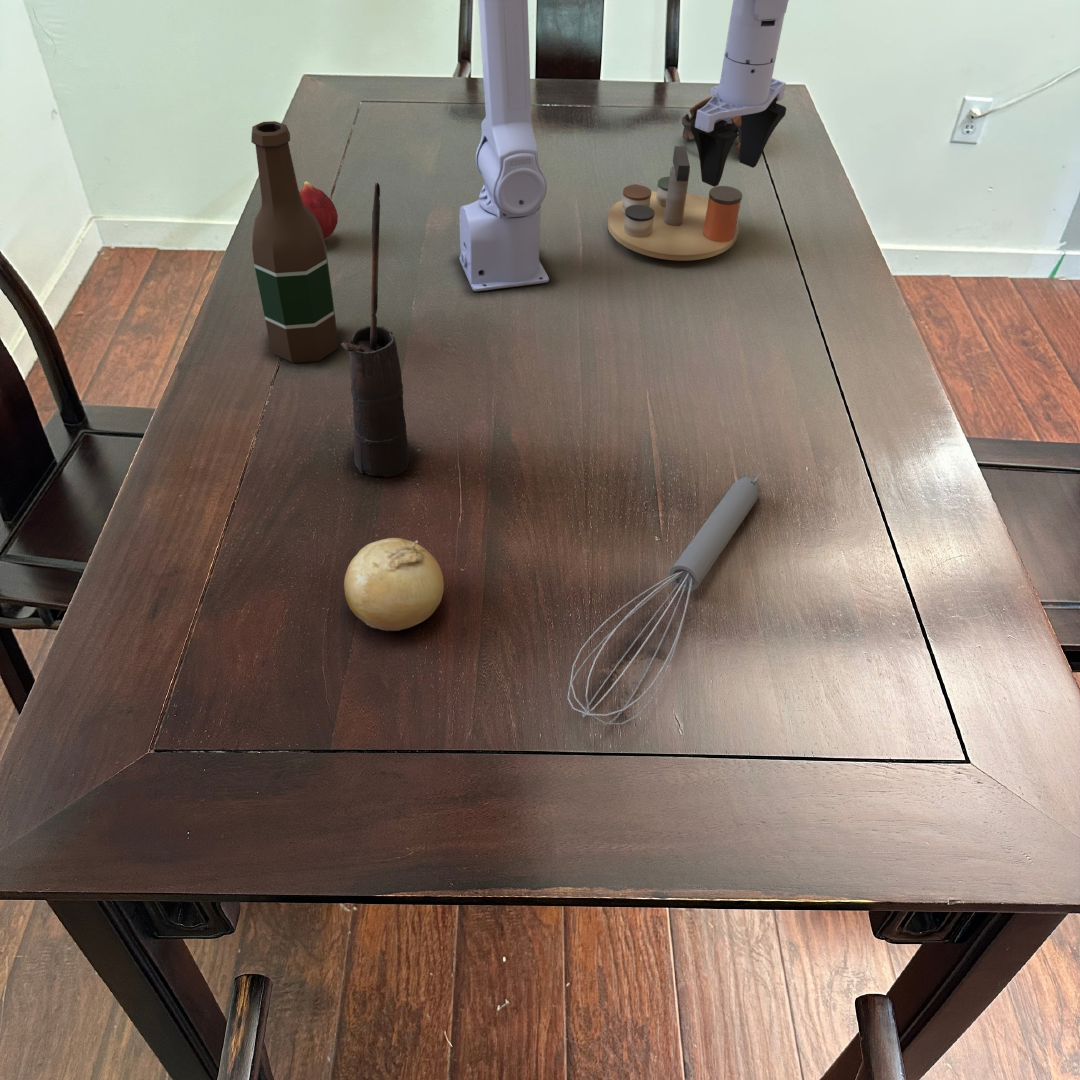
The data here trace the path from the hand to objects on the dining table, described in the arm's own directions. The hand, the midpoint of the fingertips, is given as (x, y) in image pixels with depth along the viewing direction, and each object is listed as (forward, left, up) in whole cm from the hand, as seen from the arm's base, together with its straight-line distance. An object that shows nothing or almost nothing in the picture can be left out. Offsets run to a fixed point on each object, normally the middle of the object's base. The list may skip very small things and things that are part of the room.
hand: (729, 173), depth 117 cm
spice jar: (0, 0, -8) cm, 8 cm away
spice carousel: (-4, +4, -9) cm, 11 cm away
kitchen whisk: (-28, -54, -10) cm, 62 cm away
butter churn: (-49, -32, -10) cm, 59 cm away
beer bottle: (-53, -10, -10) cm, 55 cm away
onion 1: (-49, +12, -10) cm, 52 cm away
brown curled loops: (+13, +28, -10) cm, 33 cm away
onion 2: (-50, -50, -10) cm, 71 cm away
